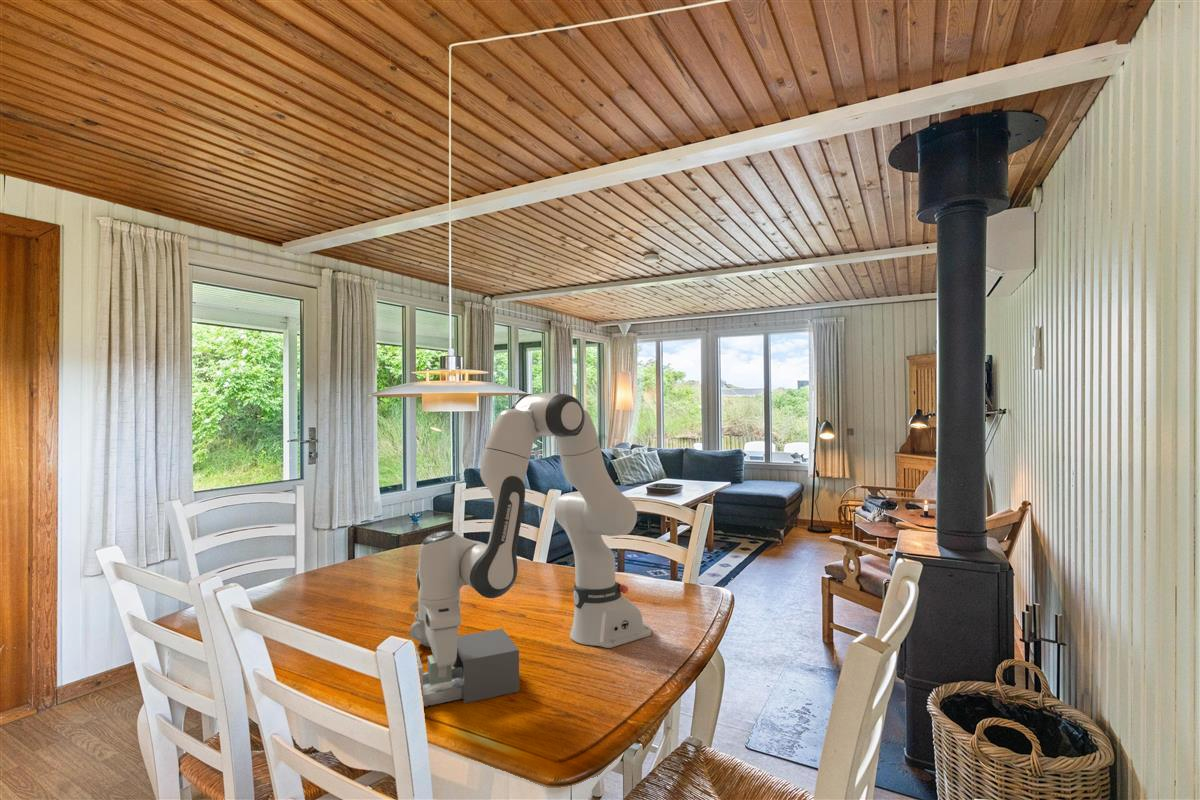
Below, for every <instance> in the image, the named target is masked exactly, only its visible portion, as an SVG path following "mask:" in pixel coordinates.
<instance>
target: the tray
mask: <svg viewBox="0 0 1200 800" xmlns="http://www.w3.org/2000/svg"><path fill="white" fill-rule="evenodd" d="M414 646H415V648H416V654H417V661H418V668H419V675H420V683H421V690H422V696H423V701H424V706H425V707H429V706H428V705H430V706H434V705H439V704H443V703H446V702H453V701H456V700H461V699H462V700H463V665H462V666H457V667H452V681H449V682H444V683H439V684H434V685H430V682H429V679H428V671H425V672H424V666H423V664H422V661H421V657H420V654H419V651H418V649H417V645H414ZM425 707H424V708H425Z"/></svg>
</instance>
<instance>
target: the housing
mask: <svg viewBox="0 0 1200 800" xmlns="http://www.w3.org/2000/svg"><path fill="white" fill-rule="evenodd" d="M462 665H463V698H462V701H463V704H468V703H469V704H470V703H472V702H477V701H481V700H486V699H490V698H495V697H500V696H504V695H508V694H513V693H518V692H520V650H519V647H518V646H517V645H516V643H514V641H513V640H512V639H511V637H510V636H509V635H508V634H507V632H506V631H505V630H504V628H497V629H491V630H486V631H479V632H475V633H468V634H462V635H458V646H457V658H456V662H455V664H454V665H452V667H457V666H462Z"/></svg>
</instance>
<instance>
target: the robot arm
mask: <svg viewBox="0 0 1200 800" xmlns="http://www.w3.org/2000/svg"><path fill="white" fill-rule="evenodd" d="M538 437H542V438H543V437H545V438H546V437H554V438H555V439H556V443H557V447H558V453H559V456H560V460H561V464H562V469H563V473H564V476H565V479H566V481H567V483H569V484H570V485H571V486H572V487H573V488H575V489H576V490H577V491H570V492H567V493H566V492H565V493H563V494H561V495H560V496H559V497H558V499H557V500H556V502H555V506H554V516H555V519H556V520H555V521H556V522H557V523H558V524H559V525H560V526H561V528H562V529H563V530H564V531H565V533H566V535H567V537H568V539H569V542H570V545H571V548H572V552H573V557H574V558H573V559H574V569H575V571H574V573H575V575H574V576H575V577H574V578H575V581H574V584H573V603H574V612H573V620H572V626H571V629H570V633H569V637H570V639H571V640H572V641H573V642H576V643H578V644H581V645H587V646H595V647H596V646H597V647H602V648H605V649H606V648H607V649H611V648H614V647H618V646H620V645H624V644H627V643H630V642H633V641H637V640H640V639H643V638H646V637H649V636H651V635H652V630H651V629H652V628H651V627H650V626H649V625H648V624H647V623H646V622H645V621H644V619H643V615H642V612H641V610H640V609H639V607H638V606H637V605H636V604H634V603H633V602H632V601H631V600H629V599H628V598H626V597H625V596H623V594H627V593H628V592H629V587H628V586H626V585H625V584H621V583H619V582H617V581H616V556H615V553H614V551H613V550H612V549H611V548H610V547H609V546H608V545H607V544H606V543H605V541H604V538H603V537H602V536H608V537H617V536H618V537H619V536H626V535H627V536H628V535H629V534H630V533H631V532H632V531H633V530H634V528H635V526H636V524H637V519H638V513H637V511H638V510H637V508H636V505H635V503H634V502H633V501H632V500H631V499H629V498H628V497H627V496H625V495H624V494H623V492H621V490H620V489H619V488H618V487H617V486H616V484H615V483H614V481H613V480H612V478H611V477H610V475H609V472H608V470H607V467H606V465H605V460H604V457H603V454H602V453H603V452H602V449H601V445H600V441H599V436H598V433H597V431H596V427H595V425H594V422H593V419H592V417H591V415H590V413H589V412H588V411H587V410H585V408H583V405H582V403H581V402H580V401H579V400H578V399H577V398H576V397H574V396H573V395H570V394H566V393H556V392H541V393H526V394H524V395H521V396H519V397H518V398H516V399H514V401H513V402H512V404H511V406H510V407H509V409H504V410H503V411H501V412H500V413H499V414H498V415H497V417H496V419H495V421H494V423H493V425H492V427H491V430H490V432H489V435H488V437H487V440H486V443H485V446H484V450H483V452H482V455H481V456H482V457H481V461H480V471H479V475H480V478H481V481H482V482H483V485H484V486H485V487H486V488H487V489H488V490H489V492H490V495H491V497H492V499H493V503H494V509H493V511H494V512H493V517H492V521H491V528H490V532H489V538H488V542H487V543H484V542H482V541H478V540H472V539H469V538H466V537H464V536H461V535H459V534H457V532H455V531H453V530H444V531H437V532H434V533H431V534H430V535H428V536H426V537H425V538H424V539H423V540H422V542H421V544H420V548H419V555H418V580H419V584H420V585H419V586H420V587H419V591H418V596H417V597H418V598H417V599H418V601H417V602H418V611H419V619H421V620H423V621H424V622H425V633H426V637H427V639H428V642H429V644H430V647H429V648H430V649H431V652H432V654H431V655H434V657H435V660H436V662H437V665H438V667H437V675H438V677H439V678H443V677H446V675H447V666H450V665H454V664H455V662H456V658H457V646H458V636H459V626H461V625H462V614H461V588H462V587H464V586H469V587H470V588H472V589H474V590H475V591H476V592H477V593H478V594H479V595H481V597H484V598H486V599H497V598H499V597H501V596H503V595H505V594H506V593H507V592H508V591H510V589H511V588H512V587H513V585H514V584H515V582H516V580H517V577H518V558H517V550H518V549H517V548H518V542H519V536H520V531H521V525H522V524H521V523H522V519H523V513H524V507H525V499H526V476H527V471H528V467H529V463H530V459H531V455H532V451H533V446H534V443H535V441H536V439H537V438H538Z"/></svg>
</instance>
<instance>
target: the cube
mask: <svg viewBox="0 0 1200 800" xmlns="http://www.w3.org/2000/svg"><path fill="white" fill-rule="evenodd" d="M426 662H427V672H428V679H429V682H430V685H434V684H439V683H444V682H449V681H452V665H450V666H447V675H446V677H443V678H439V677H438V675H437V667H438V665H437V662H436V660H435V657H434V655H433V654H430V655H427V661H426Z"/></svg>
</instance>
